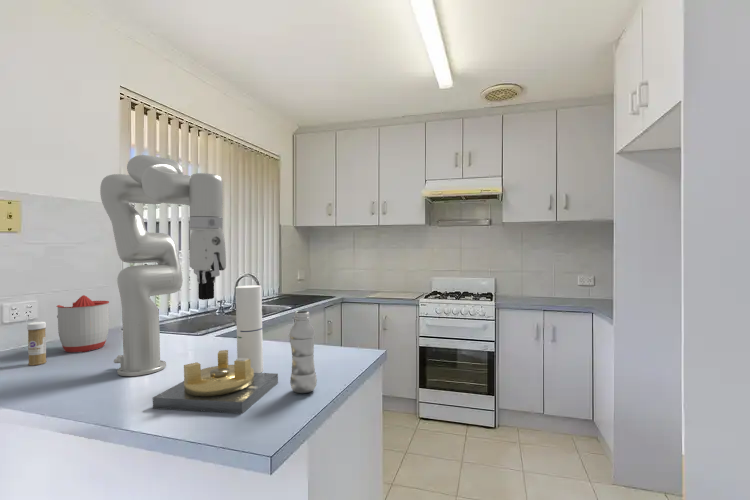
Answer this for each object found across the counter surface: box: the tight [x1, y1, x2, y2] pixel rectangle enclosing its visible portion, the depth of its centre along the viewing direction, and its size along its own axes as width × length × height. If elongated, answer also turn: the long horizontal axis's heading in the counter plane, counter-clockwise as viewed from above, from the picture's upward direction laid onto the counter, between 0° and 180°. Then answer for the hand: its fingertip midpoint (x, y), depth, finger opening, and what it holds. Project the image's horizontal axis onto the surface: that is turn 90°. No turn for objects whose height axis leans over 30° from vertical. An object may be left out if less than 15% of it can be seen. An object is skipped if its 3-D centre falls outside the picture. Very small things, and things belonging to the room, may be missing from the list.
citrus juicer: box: [56, 294, 110, 353], centre depth 143 cm, size 16×17×20 cm
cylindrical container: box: [235, 284, 264, 373], centre depth 113 cm, size 7×7×25 cm
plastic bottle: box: [288, 310, 318, 394], centre depth 97 cm, size 6×7×20 cm
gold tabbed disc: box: [183, 349, 254, 396], centre depth 96 cm, size 16×16×6 cm
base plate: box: [152, 372, 279, 414], centre depth 96 cm, size 22×19×3 cm
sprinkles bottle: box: [26, 321, 48, 366], centre depth 125 cm, size 5×5×13 cm
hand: (206, 298), depth 96 cm, fingers closed
